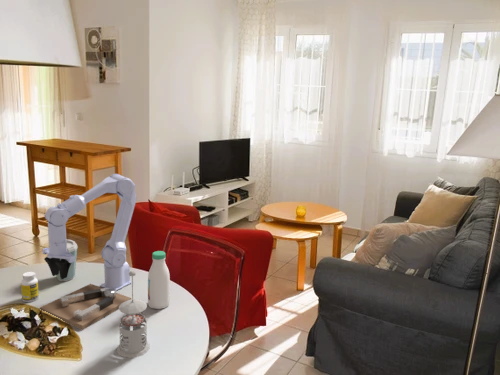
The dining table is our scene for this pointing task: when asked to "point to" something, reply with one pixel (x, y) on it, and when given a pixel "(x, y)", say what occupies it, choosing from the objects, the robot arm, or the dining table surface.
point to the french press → (133, 340)
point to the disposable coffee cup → (71, 273)
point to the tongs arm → (88, 295)
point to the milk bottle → (158, 282)
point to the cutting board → (83, 308)
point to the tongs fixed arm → (93, 309)
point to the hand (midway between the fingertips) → (59, 276)
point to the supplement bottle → (29, 287)
